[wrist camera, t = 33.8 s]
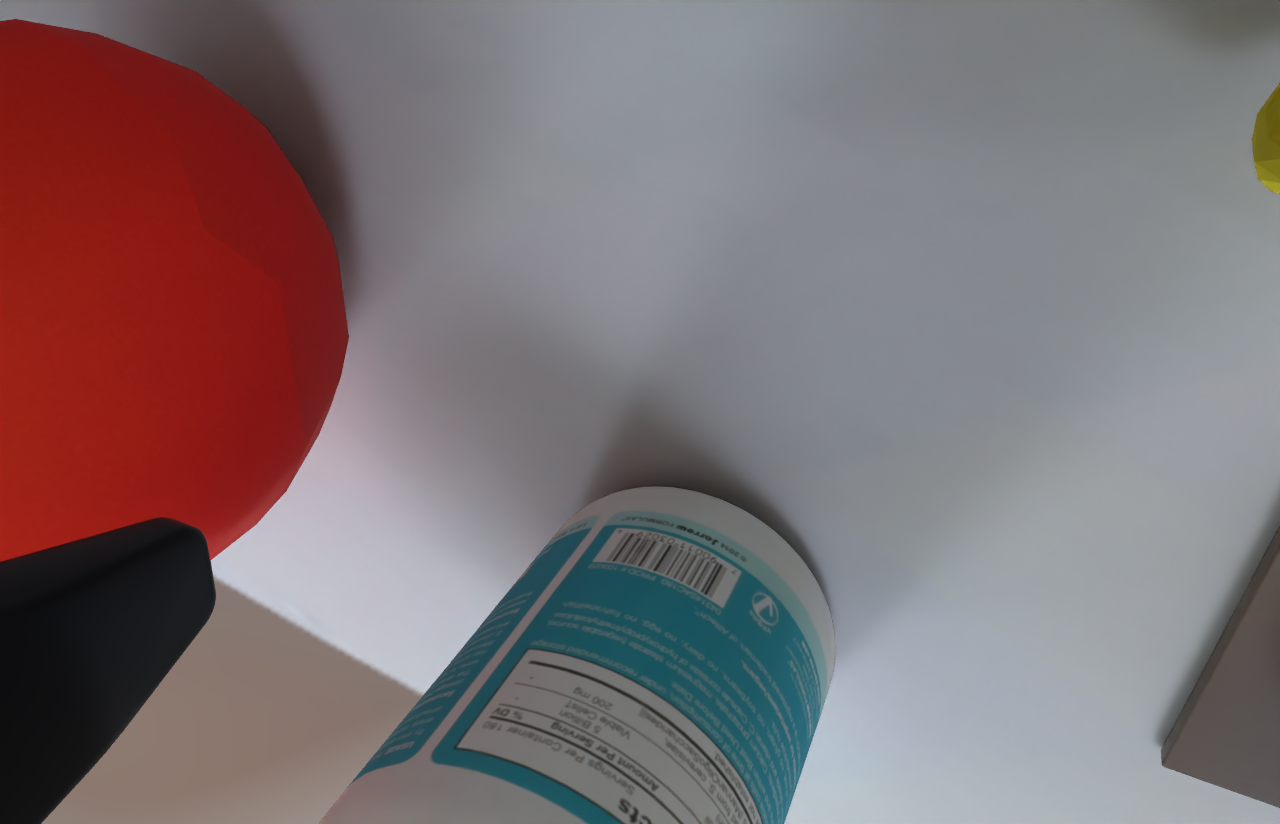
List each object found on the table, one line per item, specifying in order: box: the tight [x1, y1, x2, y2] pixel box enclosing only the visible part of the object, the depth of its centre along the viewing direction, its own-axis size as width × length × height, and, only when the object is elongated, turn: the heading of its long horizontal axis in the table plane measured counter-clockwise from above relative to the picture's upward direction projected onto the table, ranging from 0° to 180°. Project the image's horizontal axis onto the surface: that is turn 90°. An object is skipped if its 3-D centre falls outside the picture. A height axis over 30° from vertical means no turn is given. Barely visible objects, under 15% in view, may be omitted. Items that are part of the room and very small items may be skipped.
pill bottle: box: [319, 486, 835, 824], centre depth 19 cm, size 8×7×14 cm
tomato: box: [0, 19, 349, 562], centre depth 20 cm, size 12×12×13 cm
